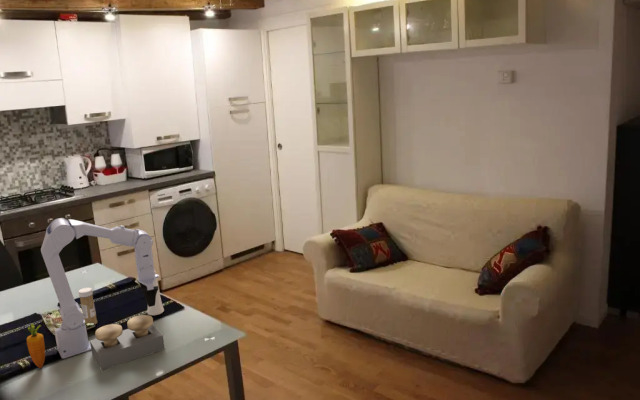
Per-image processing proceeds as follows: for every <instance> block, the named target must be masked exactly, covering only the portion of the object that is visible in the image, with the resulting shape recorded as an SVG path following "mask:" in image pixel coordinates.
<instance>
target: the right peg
mask: <svg viewBox="0 0 640 400" xmlns="http://www.w3.org/2000/svg"><path fill="white" fill-rule="evenodd" d="M126 324H127V329H129V330H132V331H135V335H136V338H140V337H143V336H146V335H148V328H149V327H151V326H152V325H154V318H153V317H152V315H149V314H141V315H136V316H132V317H131V318H130V319H128V321H127V323H126Z"/></svg>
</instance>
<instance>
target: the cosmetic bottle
mask: <svg viewBox="0 0 640 400" xmlns="http://www.w3.org/2000/svg"><path fill="white" fill-rule="evenodd" d="M155 274H157V272H156V271H155ZM155 286H158V291H157V294H156V300H155V306H151V307H149V306H148V305H147V311H146V312H147V313H146V314H147V315H149V316H157V315H161V314H163V312H164V311H165V308H164V306H163V302H162V298H161V293H160V288H159V283H158V278H156V279H155V281H154V283H153V287H155Z"/></svg>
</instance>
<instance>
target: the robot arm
mask: <svg viewBox="0 0 640 400" xmlns="http://www.w3.org/2000/svg"><path fill="white" fill-rule="evenodd" d="M83 236H90V237H96V238H104V239H109V241H110V242H111V243H112V244H115V245H120V246H125V247H130V248H131V247H134V257H135V265H136V272H137V279H136V281H137V282H138V284H139V287H140V291H141V293H142V294H143V297H144V299H145V301H146V303H147V307H148V306H149V307H151V306H155V300H156V294H157V291H158V287H159V285H158V286H155V287H153V283H154V281H155V279H156V278H157V279H159V278H160V275H159V273H158V274H157V273H156V274H155V272H156V269H155V262H154V255H153V251H152V246H153V245H154V240H153V238H152V236H150V235H149V233H148V232H146V231H145V230H143V229H139V228H138V229H137V228H135V229H133V228H132V229H130V228H127V227H125V225H122V224H121V225H120V226H114V227H112V228H109V227H104V226H101V225H96V224H93V223H89V222H85V221H81V220H76V219H71V218H70V219H69V218H68V219H66V218H64V217H60V218H56V219H54V220H52V221H51V222H50V224H49V225H48V226H47V227H46V230H45V235H44V239H43V242H42V244H41V248H40V252H41V257H42V258H43V261H44V263H45V267H46V269H47V273H48V275H49V277H50V280H51V281H50V282H51V283H52V286H53V288H54V292H55V295H56V298H57V300H58V303H59V311H58V312H59V316H60V318H61V320H62V322H61V324H60V327H57V328H56V329H54V335H55V336H54V337H55V341H56V350H57V351H58V353H59V356H60V357H61V359H63V360H64V359H66V358H69V357H72V356H77V355H79V354H82V353H85V352H89V351H91V345H90V340H89V338H88V332H87V331H88V330H87V326H86V325H85V320H84V316H83V313H82V309H81V305H80V304H79V303H78V302H76V301H75V297H74V295H73V292H72V289H71V287H70V284H69V280H68V277H67V275H66V272H65V269H64V266H63V263H62V261H61V257H60V252H61V251H62V250H63V248H65V247H66V246H67V245H68V244H70V243H71V242H72V241H73V240H74V239H76V240H78V239H80V238H81V237H82V238H83Z"/></svg>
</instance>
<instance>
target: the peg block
mask: <svg viewBox="0 0 640 400" xmlns="http://www.w3.org/2000/svg"><path fill="white" fill-rule="evenodd" d="M122 331H123V332H122V334H121V335H120V336H119V337H117V343H118V345H115V346H112V347H109V348H106V349H105V347H104V341H100V340H97V339H96V338H94V339H92V340H89V343H90V345H91V350H90V351H91V355H92V357H93V358H94V360H95V362H96V364H97V365H98V367H99V368H100V371H104V370H108V369H111V368H113V367H116V366H119V365H122V364H125V363H128V362H130V361H134V360H137V359H139V358H140V359H141V358H143V357H146V356H149V355H151V354H154V353H157V352H160V351H164V350H165V349H166V348H165V342H164V341H165V340H164V335H163V334H162V333H161V332H160V331H159V329H158V328H157V327H156V326H155V325H154V324H153V325H152V326H151V327H149V328H148V335H146V336H143V337H140V338H136V335H135V331H132V330H129V329H128V328H126V329H122Z"/></svg>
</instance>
